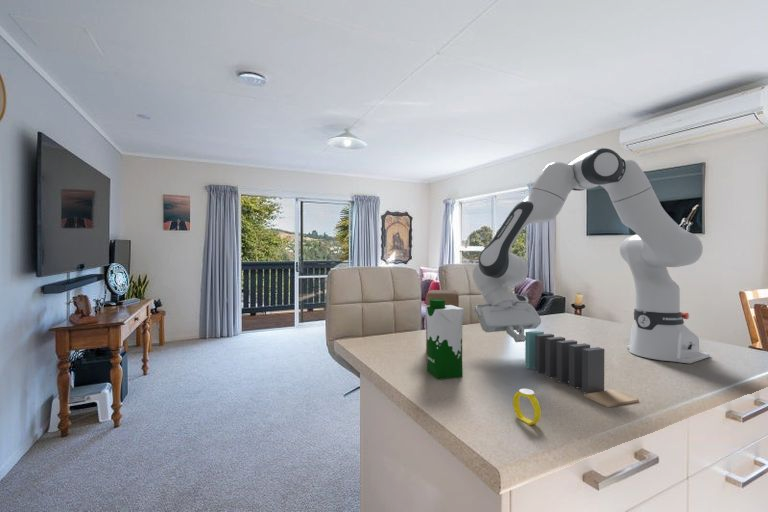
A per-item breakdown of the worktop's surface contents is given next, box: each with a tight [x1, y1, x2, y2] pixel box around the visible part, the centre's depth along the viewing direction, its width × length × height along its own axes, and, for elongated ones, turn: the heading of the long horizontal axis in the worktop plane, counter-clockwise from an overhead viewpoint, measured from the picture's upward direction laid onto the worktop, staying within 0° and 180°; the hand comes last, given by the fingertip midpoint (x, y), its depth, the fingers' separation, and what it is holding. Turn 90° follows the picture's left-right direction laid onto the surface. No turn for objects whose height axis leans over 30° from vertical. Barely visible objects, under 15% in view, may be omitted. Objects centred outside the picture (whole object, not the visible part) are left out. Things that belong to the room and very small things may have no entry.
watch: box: [512, 388, 542, 426], centre depth 69 cm, size 6×3×6 cm, turn 22°
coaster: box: [583, 388, 640, 408], centre depth 79 cm, size 9×6×1 cm, turn 109°
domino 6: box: [581, 346, 605, 394], centre depth 83 cm, size 2×5×10 cm, turn 109°
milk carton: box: [425, 299, 465, 380], centre depth 96 cm, size 9×9×20 cm
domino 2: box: [534, 333, 555, 374], centre depth 98 cm, size 2×5×10 cm, turn 109°
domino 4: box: [556, 339, 578, 384], centre depth 91 cm, size 2×5×10 cm, turn 109°
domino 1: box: [524, 330, 545, 370], centre depth 101 cm, size 2×5×10 cm, turn 109°
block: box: [425, 289, 460, 354], centre depth 116 cm, size 10×10×20 cm
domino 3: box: [544, 336, 566, 379], centre depth 94 cm, size 2×5×10 cm, turn 109°
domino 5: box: [568, 343, 591, 389], centre depth 87 cm, size 2×5×10 cm, turn 109°
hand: (521, 340), depth 107 cm, fingers closed
